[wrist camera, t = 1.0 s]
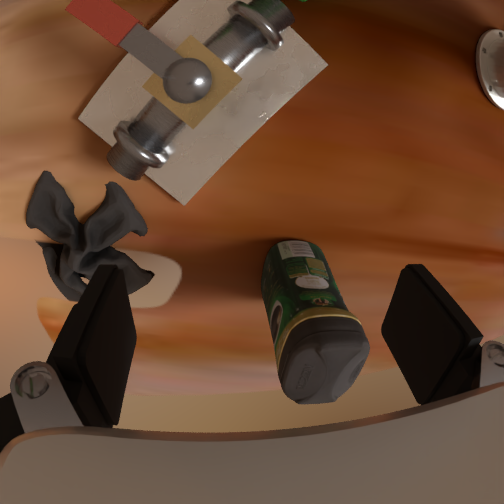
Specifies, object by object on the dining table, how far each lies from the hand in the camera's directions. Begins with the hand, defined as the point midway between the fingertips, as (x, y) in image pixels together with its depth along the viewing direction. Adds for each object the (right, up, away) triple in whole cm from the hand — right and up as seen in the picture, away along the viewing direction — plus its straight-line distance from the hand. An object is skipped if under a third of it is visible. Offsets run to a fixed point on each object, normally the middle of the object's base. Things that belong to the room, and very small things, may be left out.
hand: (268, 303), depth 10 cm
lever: (-9, +19, +11) cm, 23 cm away
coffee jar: (+5, -1, +32) cm, 32 cm away
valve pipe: (-6, +19, +19) cm, 28 cm away
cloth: (-22, +2, +28) cm, 36 cm away
